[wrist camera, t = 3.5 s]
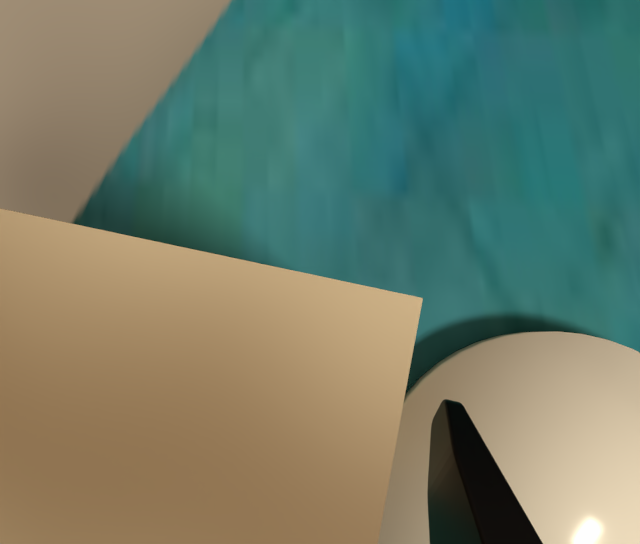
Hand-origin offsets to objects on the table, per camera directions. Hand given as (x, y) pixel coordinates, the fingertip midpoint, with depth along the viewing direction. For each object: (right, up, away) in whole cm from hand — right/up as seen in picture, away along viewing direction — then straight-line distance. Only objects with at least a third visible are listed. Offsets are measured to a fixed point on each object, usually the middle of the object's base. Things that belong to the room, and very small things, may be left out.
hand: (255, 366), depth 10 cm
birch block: (0, -2, +7) cm, 7 cm away
